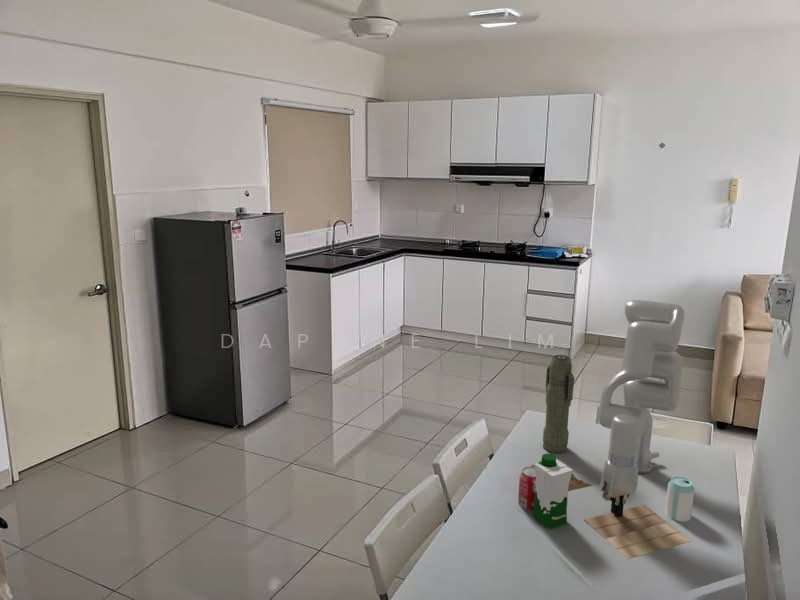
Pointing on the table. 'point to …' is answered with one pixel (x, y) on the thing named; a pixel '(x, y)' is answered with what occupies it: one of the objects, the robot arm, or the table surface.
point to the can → (679, 499)
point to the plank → (624, 521)
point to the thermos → (558, 404)
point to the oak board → (648, 540)
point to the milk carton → (551, 491)
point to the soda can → (527, 488)
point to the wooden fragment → (575, 483)
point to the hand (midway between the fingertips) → (616, 514)
